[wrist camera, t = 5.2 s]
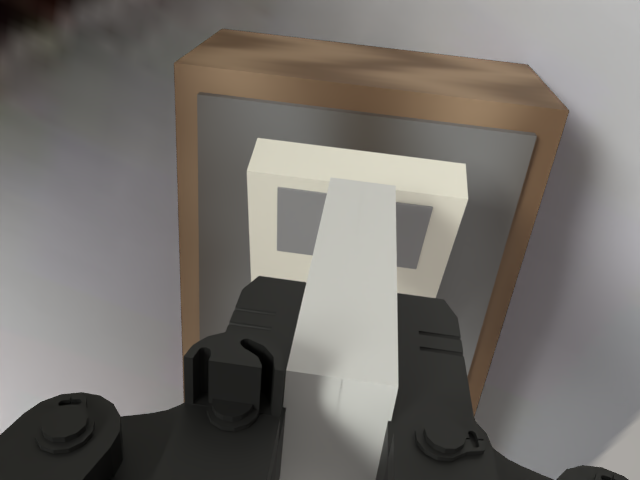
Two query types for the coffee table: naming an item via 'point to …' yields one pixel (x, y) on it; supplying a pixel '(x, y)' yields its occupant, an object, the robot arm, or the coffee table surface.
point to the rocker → (309, 198)
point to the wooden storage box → (364, 135)
